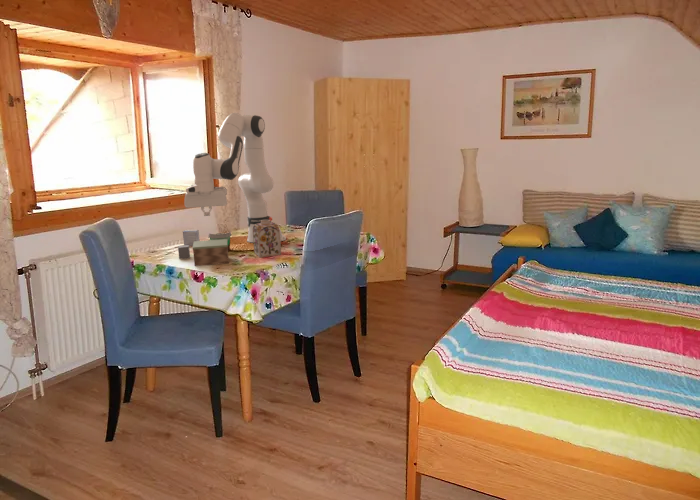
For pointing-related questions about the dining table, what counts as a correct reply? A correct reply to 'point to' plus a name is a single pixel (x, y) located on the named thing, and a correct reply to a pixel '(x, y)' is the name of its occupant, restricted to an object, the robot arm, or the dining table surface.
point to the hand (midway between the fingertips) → (207, 215)
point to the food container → (221, 237)
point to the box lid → (210, 244)
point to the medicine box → (190, 237)
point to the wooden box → (210, 256)
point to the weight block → (184, 252)
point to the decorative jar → (266, 239)
